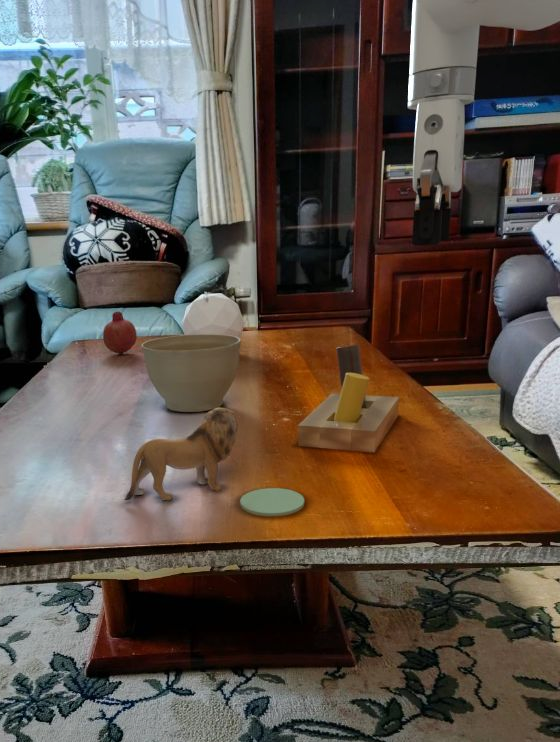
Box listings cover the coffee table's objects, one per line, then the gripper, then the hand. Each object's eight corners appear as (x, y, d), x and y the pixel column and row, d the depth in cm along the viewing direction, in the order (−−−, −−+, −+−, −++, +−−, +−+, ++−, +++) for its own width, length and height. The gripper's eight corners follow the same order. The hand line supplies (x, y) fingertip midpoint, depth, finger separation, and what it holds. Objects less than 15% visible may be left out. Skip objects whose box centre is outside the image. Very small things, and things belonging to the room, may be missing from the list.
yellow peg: (355, 436, 95) (371, 377, 92) (350, 440, 92) (367, 380, 89) (333, 429, 96) (348, 371, 93) (328, 434, 93) (343, 374, 90)
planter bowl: (261, 407, 111) (259, 340, 107) (172, 425, 104) (167, 355, 100) (213, 389, 125) (210, 329, 121) (132, 404, 118) (126, 341, 114)
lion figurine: (226, 471, 85) (223, 400, 82) (249, 483, 80) (246, 410, 77) (116, 498, 78) (108, 423, 75) (134, 513, 74) (127, 434, 71)
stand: (398, 416, 102) (399, 397, 101) (374, 453, 88) (374, 430, 87) (331, 412, 107) (331, 393, 105) (297, 446, 92) (297, 425, 91)
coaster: (312, 495, 76) (312, 491, 76) (293, 520, 70) (293, 516, 70) (253, 488, 79) (253, 485, 79) (230, 511, 73) (230, 508, 73)
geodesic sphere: (245, 334, 143) (243, 274, 147) (178, 337, 144) (177, 278, 148) (245, 365, 158) (243, 310, 161) (184, 368, 158) (183, 313, 162)
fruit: (119, 358, 157) (115, 314, 154) (97, 355, 163) (93, 312, 159) (145, 352, 163) (141, 309, 159) (123, 349, 168) (119, 308, 164)
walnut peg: (370, 418, 101) (360, 343, 99) (365, 421, 98) (355, 344, 96) (348, 420, 102) (339, 347, 100) (343, 424, 99) (333, 348, 98)
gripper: (467, 76, 72) (454, 246, 79) (480, 96, 87) (468, 238, 93) (395, 86, 75) (388, 248, 82) (419, 103, 90) (412, 240, 96)
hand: (431, 242), depth 87 cm, fingers open, 9 cm apart
